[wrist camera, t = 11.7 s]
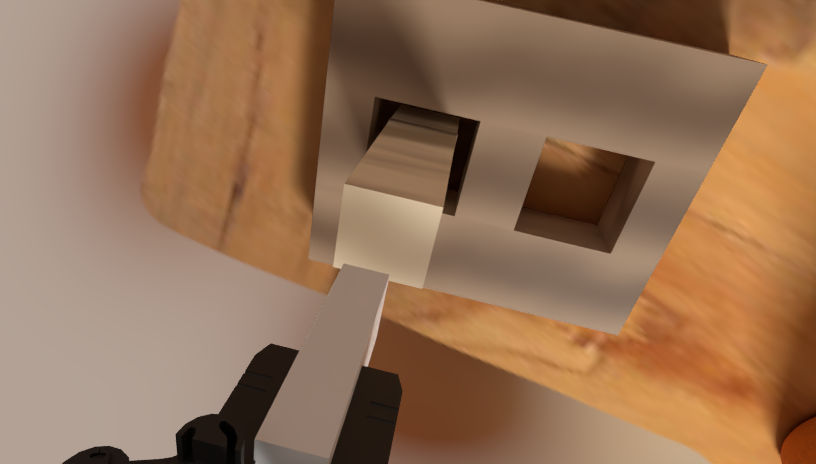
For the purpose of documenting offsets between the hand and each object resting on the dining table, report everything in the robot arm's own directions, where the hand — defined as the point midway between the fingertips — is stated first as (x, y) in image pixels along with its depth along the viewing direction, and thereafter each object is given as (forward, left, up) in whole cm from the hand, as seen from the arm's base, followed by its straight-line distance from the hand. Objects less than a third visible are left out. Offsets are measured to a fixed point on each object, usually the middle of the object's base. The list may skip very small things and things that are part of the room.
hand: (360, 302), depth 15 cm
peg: (0, 0, -18) cm, 18 cm away
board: (0, +5, -18) cm, 19 cm away
